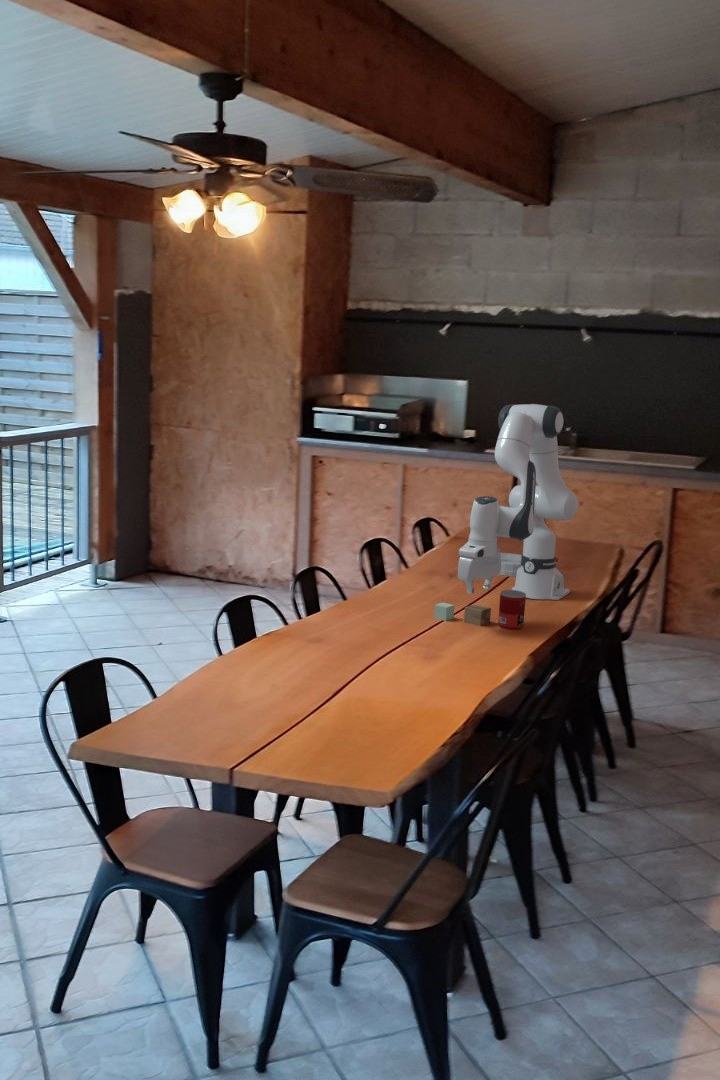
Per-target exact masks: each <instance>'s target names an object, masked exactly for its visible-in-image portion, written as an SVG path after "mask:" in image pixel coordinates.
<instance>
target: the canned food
mask: <svg viewBox="0 0 720 1080" xmlns="http://www.w3.org/2000/svg"><path fill="white" fill-rule="evenodd" d="M526 600H527V599H526V594H525V593H524V592H521V591H516V590H512V589H503V590H501V591H500V595H499V606H498V607H499V608H498V620H497V621H498V622H497V623H498V627H500V628H501V629H503V630H504V629H505V630H513V631H514V630H515V631H519V630H521V629H522V628H523V627H524V622H525V612H526Z"/></svg>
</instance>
